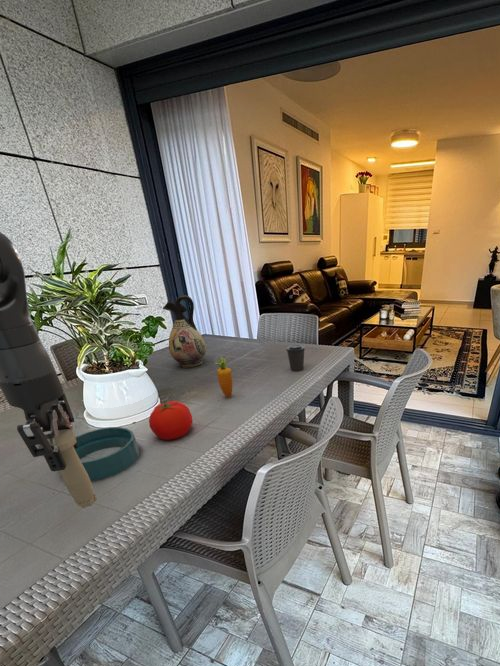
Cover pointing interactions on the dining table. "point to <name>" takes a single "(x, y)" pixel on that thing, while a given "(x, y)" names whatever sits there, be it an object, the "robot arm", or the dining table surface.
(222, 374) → the carrot
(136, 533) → the dining table surface
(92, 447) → the teal ring
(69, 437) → the handle
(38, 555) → the dining table surface
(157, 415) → the tomato
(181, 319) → the ceramic jug
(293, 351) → the coffee cup
